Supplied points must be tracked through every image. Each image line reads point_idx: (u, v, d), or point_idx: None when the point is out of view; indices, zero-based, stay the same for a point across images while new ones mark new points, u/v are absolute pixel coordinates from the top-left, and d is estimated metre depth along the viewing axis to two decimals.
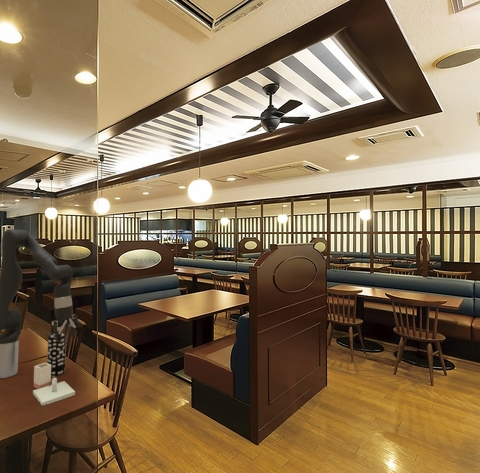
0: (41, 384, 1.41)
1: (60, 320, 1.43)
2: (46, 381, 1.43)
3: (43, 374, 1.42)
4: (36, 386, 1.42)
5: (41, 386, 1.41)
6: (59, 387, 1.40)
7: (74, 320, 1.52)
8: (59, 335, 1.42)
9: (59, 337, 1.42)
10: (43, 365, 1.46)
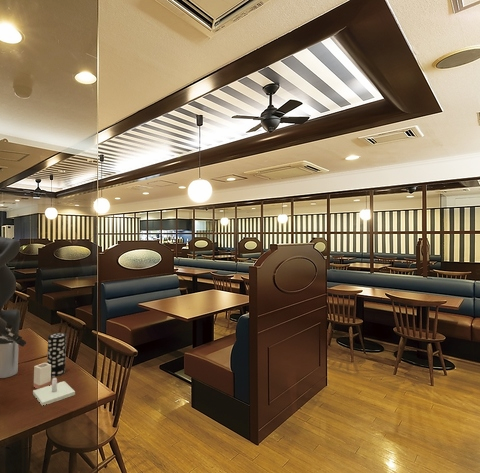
0: (41, 384, 1.41)
1: None
2: (46, 381, 1.43)
3: (43, 374, 1.42)
4: (36, 386, 1.42)
5: (41, 386, 1.41)
6: (59, 387, 1.40)
7: None
8: None
9: None
10: (43, 365, 1.46)
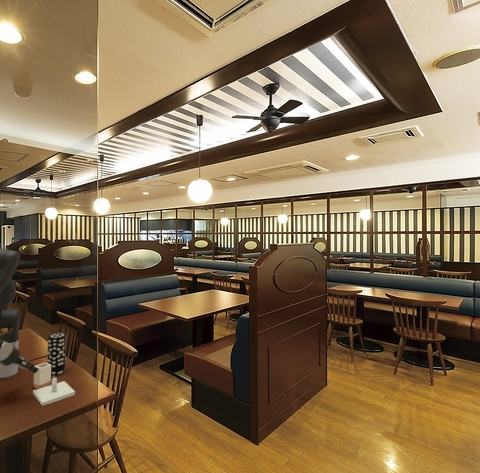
0: (41, 384, 1.41)
1: None
2: (46, 381, 1.43)
3: (43, 374, 1.42)
4: (36, 386, 1.42)
5: (41, 386, 1.41)
6: (59, 387, 1.40)
7: None
8: None
9: None
10: (43, 365, 1.46)
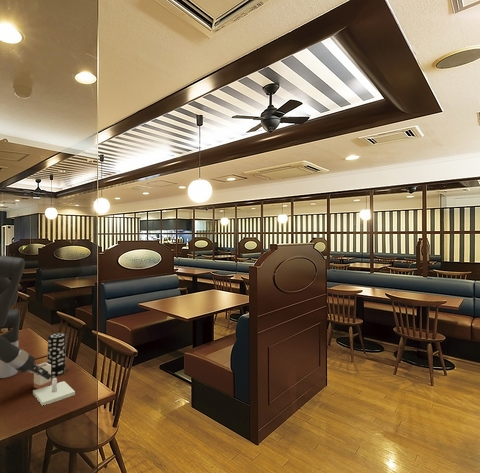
0: (41, 384, 1.41)
1: None
2: (46, 381, 1.43)
3: None
4: (36, 386, 1.42)
5: (41, 386, 1.41)
6: (59, 387, 1.40)
7: None
8: None
9: None
10: (43, 365, 1.46)
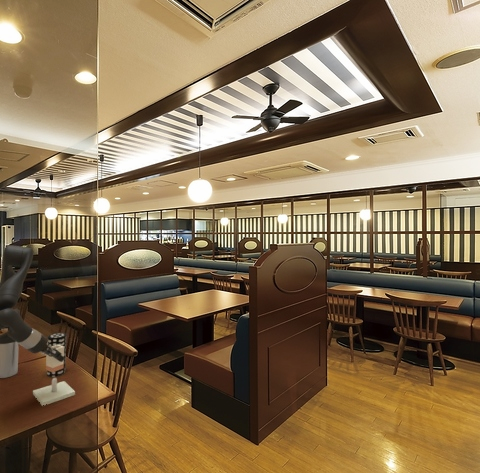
0: (54, 366, 1.35)
1: None
2: (59, 364, 1.37)
3: None
4: (49, 369, 1.35)
5: (54, 369, 1.35)
6: (59, 387, 1.40)
7: None
8: None
9: None
10: (56, 347, 1.39)
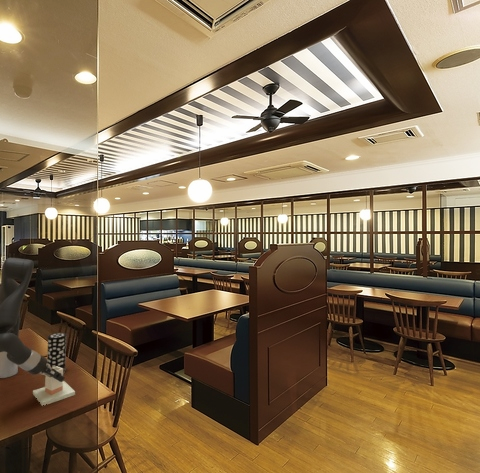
0: (53, 389, 1.35)
1: None
2: (58, 386, 1.37)
3: (55, 379, 1.35)
4: (48, 391, 1.35)
5: (53, 391, 1.35)
6: None
7: None
8: None
9: None
10: (55, 369, 1.39)
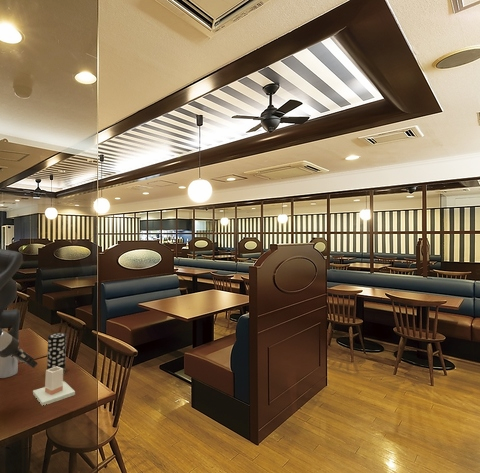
0: (53, 389, 1.35)
1: None
2: (58, 386, 1.37)
3: (55, 379, 1.35)
4: (48, 391, 1.35)
5: (53, 391, 1.35)
6: None
7: None
8: None
9: None
10: (55, 369, 1.39)
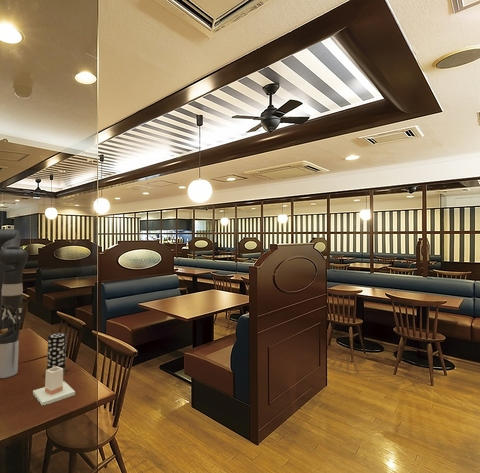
0: (53, 389, 1.35)
1: (4, 306, 1.35)
2: (58, 386, 1.37)
3: (55, 379, 1.35)
4: (48, 391, 1.35)
5: (53, 391, 1.35)
6: None
7: None
8: (3, 321, 1.36)
9: (3, 323, 1.36)
10: (55, 369, 1.39)
